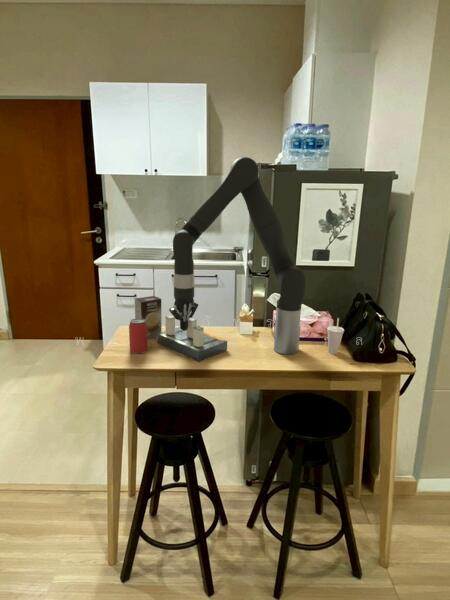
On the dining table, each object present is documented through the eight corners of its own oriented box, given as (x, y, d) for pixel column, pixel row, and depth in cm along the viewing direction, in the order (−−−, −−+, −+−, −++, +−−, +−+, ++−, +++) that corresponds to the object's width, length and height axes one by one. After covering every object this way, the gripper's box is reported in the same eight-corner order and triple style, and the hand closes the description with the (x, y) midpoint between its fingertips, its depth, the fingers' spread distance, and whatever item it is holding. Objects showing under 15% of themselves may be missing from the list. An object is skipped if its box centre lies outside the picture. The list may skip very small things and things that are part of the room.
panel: (185, 334, 172) (185, 324, 171) (227, 350, 156) (227, 340, 155) (157, 343, 161) (157, 333, 160) (198, 362, 146) (198, 351, 145)
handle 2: (197, 343, 151) (198, 325, 150) (203, 345, 150) (203, 327, 148) (193, 344, 150) (193, 327, 148) (198, 347, 148) (198, 329, 146)
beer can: (130, 347, 157) (129, 318, 153) (147, 346, 158) (146, 317, 154) (129, 354, 150) (128, 323, 147) (147, 353, 152) (146, 323, 148)
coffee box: (142, 340, 164) (141, 302, 159) (135, 335, 169) (133, 298, 164) (162, 335, 170) (161, 298, 165) (154, 331, 174) (153, 295, 170)
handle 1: (170, 331, 162) (170, 315, 160) (175, 333, 160) (175, 317, 158) (165, 333, 160) (165, 316, 158) (170, 335, 158) (170, 318, 156)
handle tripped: (191, 334, 160) (191, 318, 158) (196, 336, 158) (196, 319, 156) (186, 336, 158) (186, 319, 156) (191, 338, 156) (192, 321, 154)
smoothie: (342, 356, 155) (346, 321, 151) (324, 354, 156) (328, 319, 152) (340, 349, 161) (344, 316, 157) (324, 348, 162) (327, 314, 158)
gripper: (176, 290, 142) (177, 336, 146) (204, 284, 151) (203, 327, 156) (163, 286, 146) (164, 331, 151) (190, 280, 156) (190, 323, 161)
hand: (184, 329), depth 154 cm, fingers closed
